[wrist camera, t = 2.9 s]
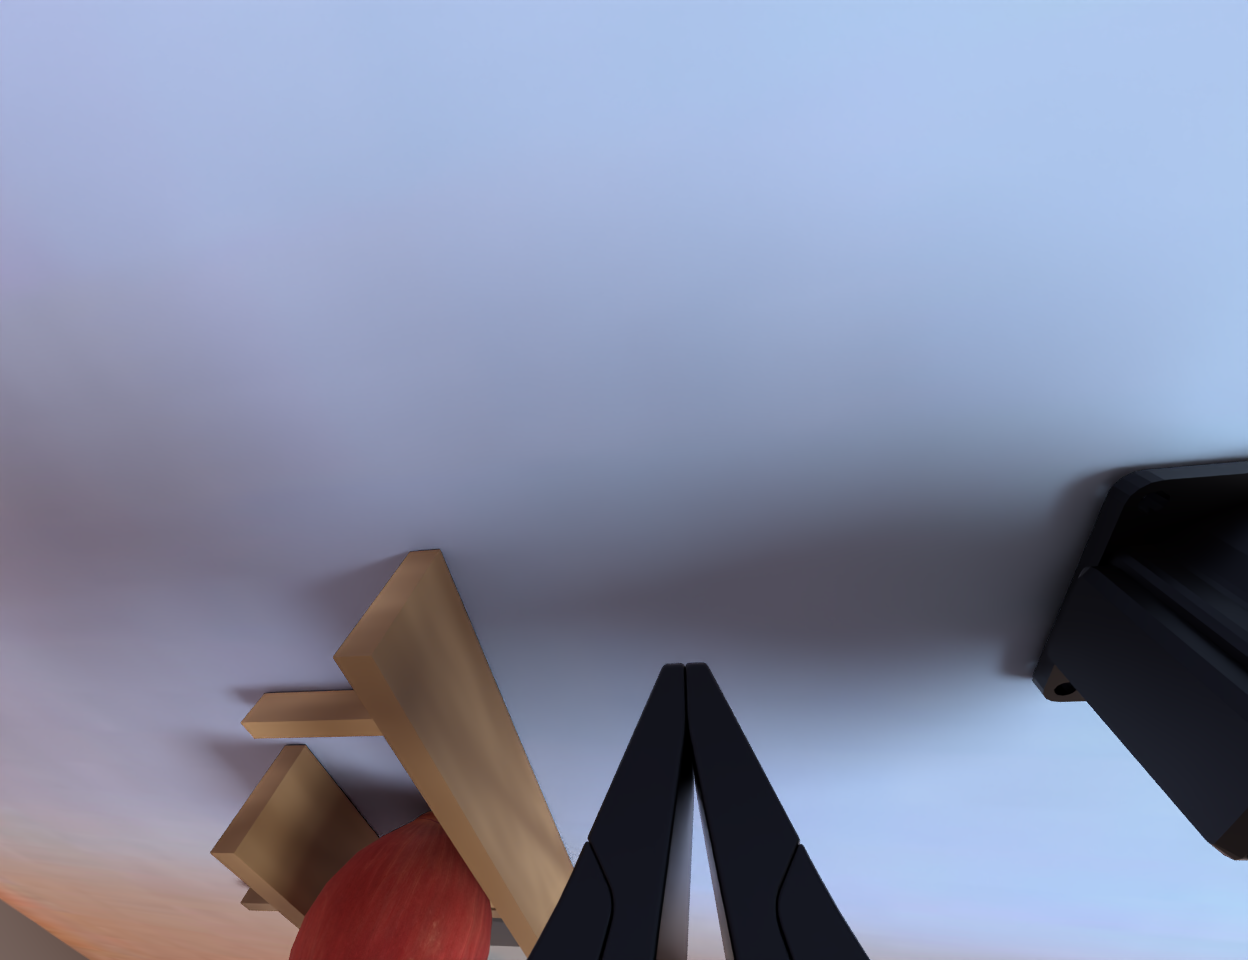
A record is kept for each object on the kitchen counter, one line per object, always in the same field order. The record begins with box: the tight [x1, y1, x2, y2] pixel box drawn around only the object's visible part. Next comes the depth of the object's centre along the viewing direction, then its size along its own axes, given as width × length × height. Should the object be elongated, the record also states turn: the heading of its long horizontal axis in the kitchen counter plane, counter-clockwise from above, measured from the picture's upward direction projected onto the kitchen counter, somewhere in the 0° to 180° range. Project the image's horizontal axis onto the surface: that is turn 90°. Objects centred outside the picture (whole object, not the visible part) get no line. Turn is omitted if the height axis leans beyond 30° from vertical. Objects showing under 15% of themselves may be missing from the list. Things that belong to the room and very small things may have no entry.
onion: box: [289, 811, 492, 960], centre depth 15 cm, size 6×6×8 cm
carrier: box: [210, 549, 574, 958], centre depth 15 cm, size 9×18×3 cm, turn 8°
